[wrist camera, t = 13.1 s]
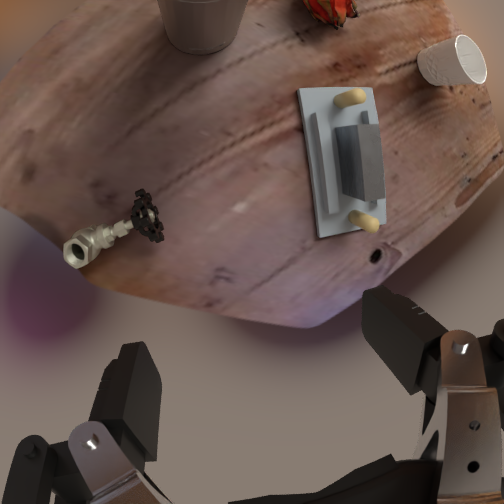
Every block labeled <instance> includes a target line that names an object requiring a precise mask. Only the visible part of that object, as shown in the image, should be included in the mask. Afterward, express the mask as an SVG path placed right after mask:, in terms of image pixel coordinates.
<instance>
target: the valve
mask: <svg viewBox="0 0 504 504" xmlns="http://www.w3.org/2000/svg"><path fill="white" fill-rule="evenodd" d="M135 195H136V197H138V196H140V197H141V198H139V199H137V200H135V201H134V206H133V208H132V215H131V220H129V221H126V220H125V219H124V220H121V221H119V222H117V223H115V224H114V227H112V226H108V225H107V224H106V223H103V224H101V225H99V226H96V225H92V226H90V227H88V228H83V229H80V230H78V231H76V232H75V233H74V234H73V236H72V237H71V239H70V240H69V241H67V242H66V243H65V244H64V260H65V261H66V262H67V263H68V264H69V265H71V266H72V267H74V268H75V269H78V268H80V267H82V266H84V265H86V264H88V263H89V262H90V261H92V260H94V259H95V258H96V257H97V256H98V254H99V253H100V250H101V249H102V248H104V249H107V248H109V247H111V246H113V245H114V240H115V239H116V236H118V237H122V236H124V235H126V234H128V233H129V232H130V229H132V228H135V229H136V230H139V232H140V233H141V234H142V235H144V236H148V237H149V240H150V241H151V242H153V241H155V242H156V243H159V242H161V241H164V235H163V233H162V232H161V231H162V230H164V227H163V224H162V222H160V221H159V219H158V216H157V215H158V214H159V212H158V209H157V207H156V206H153V204H152V202H151V201H152V198H151V195H150V193H146V192H145V190H144V189H140V190H138V191H136V192H135ZM147 208H148V209H147ZM138 209H141V211H139V212H136V211H137V210H138ZM153 223H154V224H153ZM145 227H148V229H149V231H145V230H144V228H145Z"/></svg>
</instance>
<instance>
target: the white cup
mask: <svg viewBox="0 0 504 504" xmlns="http://www.w3.org/2000/svg"><path fill="white" fill-rule="evenodd" d="M417 63H418V67H419V70H420V72H421V74H422V75H423V77H424V78H425V79H426V80H427V81H428V82H429V83H430V84H433V85H435V86H440V85H468V84H482V83H484V82H485V80H486V76H487V69H486V64H485V60H484V58H483V55H482V53H481V51H480V49H479V48H478V46H477V45H476V44H475V42H474V41H473V40H472V39H470V38H469V37H467V36H465V35H458V36H455V37H453V38H450V39H447V40H444V41H441V42H439V43H437V44H434V45H432V46H430V47H428V48H426V49H423V50H421V51H420V52H419V54H418V57H417Z"/></svg>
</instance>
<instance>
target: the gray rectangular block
mask: <svg viewBox="0 0 504 504" xmlns="http://www.w3.org/2000/svg"><path fill="white" fill-rule="evenodd" d="M335 133H336V140H337V147H338V155H339V164H340V173H341V183H342V193H343V194H344V195H347V196H350V197H353V198H356V199H359V200H362V201H364V202H367V201H373V200H379V199H385V181H384V168H383V156H382V147H381V138H380V130H379V124H357V125H349V126H342V127H335Z"/></svg>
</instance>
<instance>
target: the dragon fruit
mask: <svg viewBox="0 0 504 504" xmlns="http://www.w3.org/2000/svg"><path fill="white" fill-rule="evenodd" d="M303 2H304V4H305V5H306V7H307V8H308V9H309V10H308V11H309V13H310V14H311V15H312V16H313V17H314V18H315V20H316V21H318V22H319V20H318V19H320V20H322V21H323V22H324V23H325V24H327V25H328V26H330V27H334V28H335V29H336V30H338V27H337V26H340V27H342V28H343V24H344V22H345V20H346V17H351V18H356V17H359V16H360V13H358V12H357V10H356V8H357V5H356V3H355V1H354V0H303ZM351 4H352V5H351ZM352 7H353V9H354V11H355V13H356V14H355V13H354V11H353V9H352Z"/></svg>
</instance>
